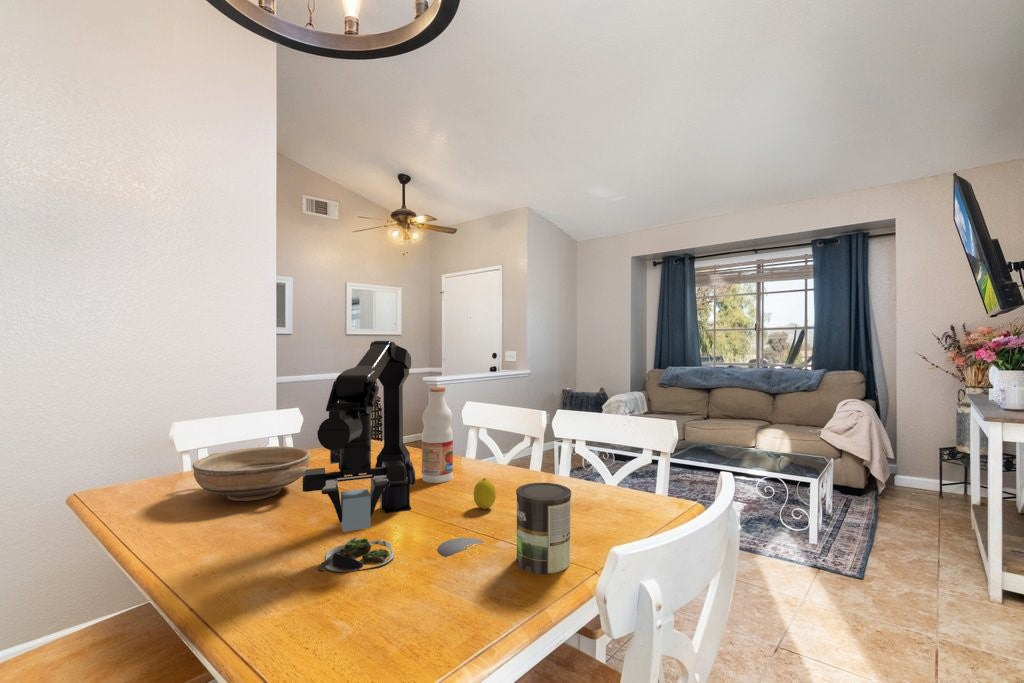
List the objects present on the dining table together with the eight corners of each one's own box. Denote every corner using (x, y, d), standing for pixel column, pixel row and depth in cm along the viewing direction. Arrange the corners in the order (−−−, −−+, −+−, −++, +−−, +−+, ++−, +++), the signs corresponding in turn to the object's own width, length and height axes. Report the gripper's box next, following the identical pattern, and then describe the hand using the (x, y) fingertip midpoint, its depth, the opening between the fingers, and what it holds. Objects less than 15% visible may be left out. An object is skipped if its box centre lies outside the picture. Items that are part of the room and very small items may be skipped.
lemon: (492, 515, 115) (492, 481, 115) (470, 513, 116) (470, 480, 116) (498, 507, 120) (498, 475, 120) (477, 505, 121) (476, 474, 121)
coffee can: (518, 580, 83) (518, 500, 83) (513, 554, 93) (513, 482, 93) (576, 578, 84) (576, 498, 84) (565, 552, 94) (565, 481, 94)
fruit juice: (420, 476, 148) (420, 386, 148) (450, 474, 151) (450, 385, 151) (422, 485, 139) (422, 389, 139) (454, 482, 142) (454, 388, 142)
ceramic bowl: (158, 499, 127) (158, 461, 127) (257, 472, 152) (257, 441, 152) (249, 522, 111) (249, 478, 111) (342, 488, 136) (342, 453, 136)
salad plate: (323, 547, 98) (323, 530, 98) (391, 539, 101) (391, 523, 101) (315, 582, 83) (315, 562, 83) (395, 571, 87) (395, 552, 87)
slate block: (367, 518, 95) (367, 488, 95) (370, 527, 90) (370, 496, 90) (340, 522, 93) (340, 491, 93) (342, 531, 88) (342, 499, 88)
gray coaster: (478, 537, 102) (478, 534, 102) (495, 556, 92) (495, 553, 92) (432, 545, 98) (432, 542, 98) (445, 566, 88) (445, 563, 88)
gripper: (397, 428, 103) (397, 500, 103) (302, 435, 95) (302, 512, 95) (407, 437, 93) (407, 517, 93) (302, 446, 85) (302, 533, 85)
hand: (355, 519), depth 92 cm, fingers closed on slate block, 5 cm apart
